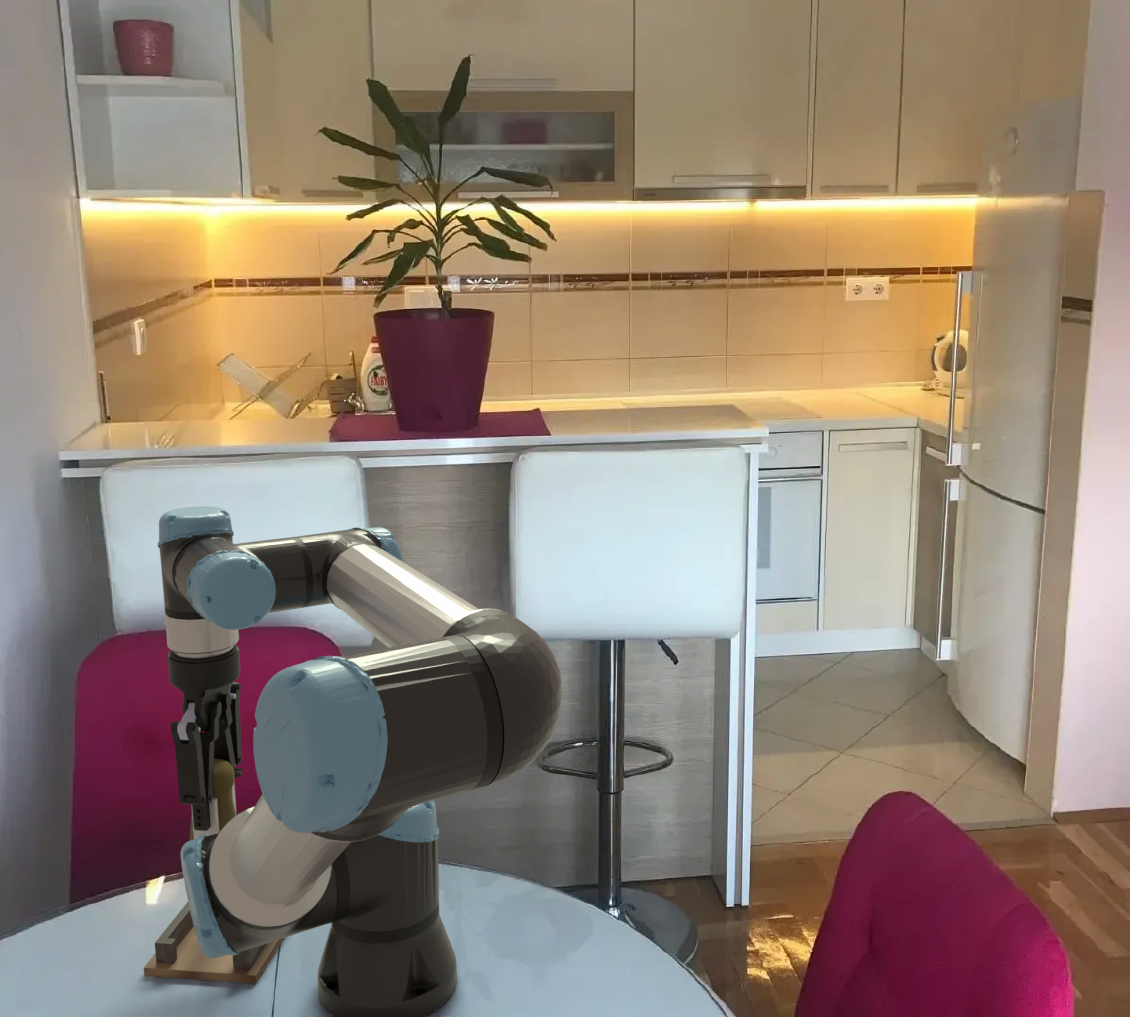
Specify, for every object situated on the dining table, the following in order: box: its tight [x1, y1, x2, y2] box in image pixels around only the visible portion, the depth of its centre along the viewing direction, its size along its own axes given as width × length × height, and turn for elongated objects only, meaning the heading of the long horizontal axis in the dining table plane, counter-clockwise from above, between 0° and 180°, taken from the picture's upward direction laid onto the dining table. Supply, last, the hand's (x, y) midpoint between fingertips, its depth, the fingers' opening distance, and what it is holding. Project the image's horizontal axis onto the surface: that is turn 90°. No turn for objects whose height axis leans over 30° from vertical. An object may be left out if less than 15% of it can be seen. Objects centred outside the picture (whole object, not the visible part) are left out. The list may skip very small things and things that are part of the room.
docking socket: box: [143, 901, 285, 984], centre depth 131 cm, size 13×13×4 cm
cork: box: [189, 759, 237, 841], centre depth 128 cm, size 6×6×11 cm
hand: (216, 841), depth 128 cm, fingers closed on cork, 4 cm apart
